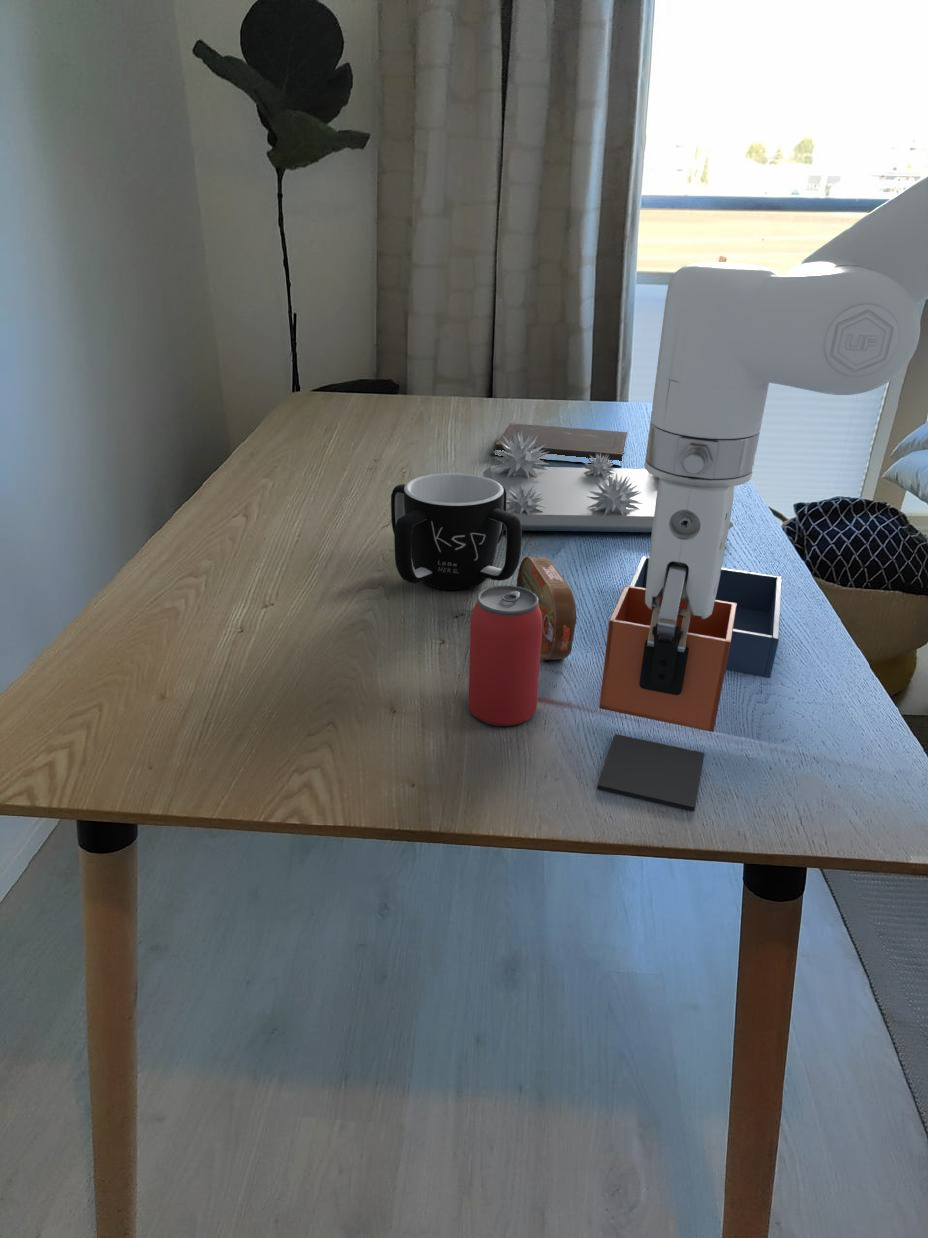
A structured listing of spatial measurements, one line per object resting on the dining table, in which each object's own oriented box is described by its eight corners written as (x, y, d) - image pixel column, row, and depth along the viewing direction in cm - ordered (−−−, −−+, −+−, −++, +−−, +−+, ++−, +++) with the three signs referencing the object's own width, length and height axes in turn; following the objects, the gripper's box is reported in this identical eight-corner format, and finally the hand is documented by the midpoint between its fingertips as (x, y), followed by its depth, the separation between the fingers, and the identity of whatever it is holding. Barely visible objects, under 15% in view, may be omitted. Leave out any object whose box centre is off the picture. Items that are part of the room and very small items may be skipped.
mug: (382, 603, 102) (380, 508, 96) (393, 551, 116) (392, 465, 111) (519, 606, 102) (524, 511, 96) (513, 554, 116) (518, 468, 111)
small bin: (720, 688, 72) (737, 603, 68) (713, 732, 66) (730, 642, 63) (615, 667, 75) (625, 584, 71) (598, 708, 69) (609, 620, 65)
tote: (774, 615, 101) (782, 576, 99) (769, 682, 88) (778, 639, 85) (637, 593, 106) (642, 555, 104) (612, 653, 92) (617, 611, 90)
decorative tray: (490, 537, 121) (492, 469, 117) (482, 480, 144) (484, 421, 140) (733, 540, 122) (745, 472, 118) (687, 482, 145) (696, 424, 141)
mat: (703, 756, 76) (704, 752, 76) (694, 811, 69) (694, 807, 69) (614, 737, 78) (615, 733, 78) (597, 789, 72) (597, 785, 72)
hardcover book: (509, 434, 170) (510, 422, 169) (626, 443, 166) (627, 431, 165) (494, 456, 156) (494, 444, 155) (621, 467, 152) (622, 455, 151)
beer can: (547, 704, 83) (556, 593, 78) (516, 737, 78) (523, 621, 73) (488, 685, 86) (493, 576, 80) (455, 716, 81) (457, 602, 75)
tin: (512, 610, 101) (516, 544, 97) (538, 609, 101) (543, 543, 98) (546, 676, 88) (552, 602, 84) (575, 674, 88) (583, 600, 84)
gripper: (748, 495, 52) (703, 734, 61) (760, 428, 67) (723, 627, 75) (626, 479, 55) (599, 712, 63) (664, 417, 69) (638, 613, 77)
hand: (667, 664), depth 69 cm, fingers closed on small bin, 7 cm apart
